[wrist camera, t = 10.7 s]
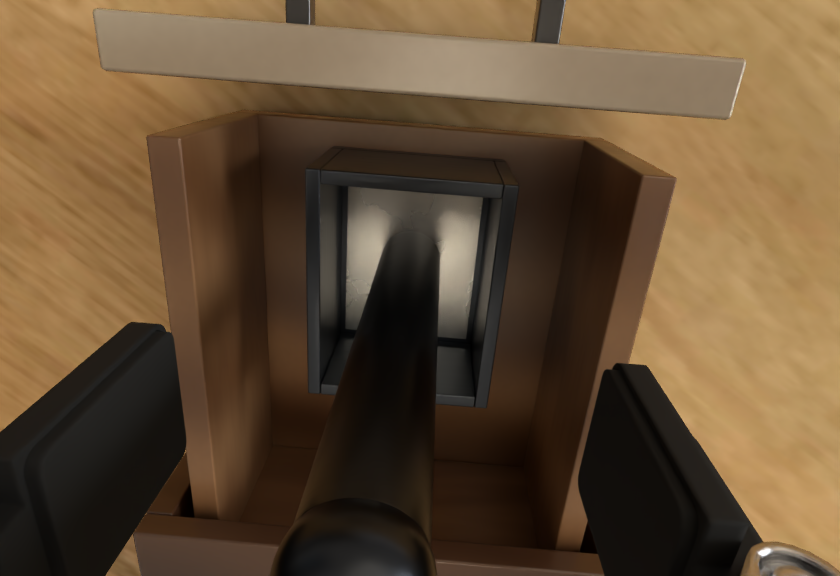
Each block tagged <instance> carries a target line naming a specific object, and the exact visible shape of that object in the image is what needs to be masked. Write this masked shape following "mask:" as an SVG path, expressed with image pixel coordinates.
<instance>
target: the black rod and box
mask: <svg viewBox="0 0 840 576" xmlns="http://www.w3.org/2000/svg"><path fill="white" fill-rule="evenodd" d="M518 193H519V185H518V183H517V181H516V179H515V178H514V176H513V174H512V172H511V170H510V169H509V167H508V165H507V163H506V161H505V160H501V159H488V158H476V157H464V156H451V155H439V154H426V153H414V152H401V151H389V150H376V149H364V148H352V147H339V146H333V147H332V148H330V149H329V150H328V151H327V152H325V153H324V154H323V155H322V156H320V157H319V158H318V159H317V160H315V161H314V162H313V163H312V164H310V165H309V166H308V167H307V168H305V212H306V288H307V363H308V393H312V394H320V393H321V394H323V395H335V398H334V401H333V404H332V407H331V410H330V413H329V416H328V419H327V422H326V425H325V429H324V432H323V435H322V438H321V441H320V444H319V447H318V450H317V453H316V456H315V459H314V462H313V465H312V468H311V471H310V474H309V477H308V481H307V484H306V487H305V490H304V493H303V496H302V499H301V502H300V505H299V508H298V511H297V514H296V517H295V520H294V523H293V526H292V527H291V528H290V529H289V531H288V532H287V534H286V535H285V537H284V538H283V540H282V542H281V543H280V546H279V548H278V550H277V553H276V555H275V557H274V560H273V564H272V567H271V571H270V576H437V568H436V563H435V558H434V554H433V551H432V548H431V537H432V505H433V473H434V441H435V409H436V404H439V405H451V406H462V407H474V406H475V408H485V409H486V408H487V405H488V398H489V391H490V385H491V378H492V371H493V364H494V357H495V350H496V343H497V337H498V330H499V323H500V316H501V309H502V302H503V295H504V289H505V282H506V275H507V268H508V261H509V254H510V248H511V241H512V234H513V227H514V220H515V213H516V206H517V200H518Z"/></svg>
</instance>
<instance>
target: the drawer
mask: <svg viewBox="0 0 840 576" xmlns="http://www.w3.org/2000/svg"><path fill="white" fill-rule="evenodd" d="M565 3H566V0H537V5H536V12H535V19H534V26H533V34H532V41H531V42H526V41H513V40H501V39H488V38H475V37H462V36H449V35H436V34H423V33H410V32H397V31H384V30H372V29H359V28H346V27H333V26H320V25H315V0H286V23H281V22H268V21H255V20H242V19H230V18H217V17H204V16H191V15H178V14H165V13H152V12H139V11H126V10H113V9H101V8H97V9H94V10H93V18H94V24H95V31H96V37H97V44H98V51H99V57H100V64H101V67H102V69H104V70H106V71H113V72H126V73H138V74H151V75H164V76H176V77H189V78H202V79H214V80H227V81H240V82H252V83H265V84H278V85H290V86H303V87H316V88H328V89H341V90H354V91H366V92H379V93H392V94H404V95H417V96H430V97H442V98H455V99H467V100H480V101H493V102H505V103H518V104H531V105H543V106H556V107H569V108H581V109H594V110H607V111H619V112H632V113H645V114H657V115H670V116H683V117H695V118H708V119H721V120H726V119H729V118H730V117H731V115H732V111H733V108H734V104H735V101H736V97H737V94H738V90H739V87H740V83H741V80H742V76H743V73H744V69H745V66H746V60H745V59H743V58H733V57H720V56H707V55H694V54H681V53H668V52H655V51H642V50H630V49H617V48H604V47H591V46H578V45H565V44H559V41H560V35H561V29H562V22H563V16H564V10H565ZM146 138H147V146H148V154H149V162H150V170H151V177H152V185H153V193H154V201H155V209H156V217H157V225H158V233H159V241H160V248H161V256H162V264H163V272H164V280H165V288H166V296H167V304H168V312H169V320H170V327H171V333H172V335H173V337H174V343H175V351H176V359H177V367H178V375H179V383H180V391H181V399H182V407H183V415H184V422H185V430H186V440H187V442H186V454H187V462H188V470H189V478H190V485H191V493H192V501H193V509H194V517H195V518H203V519H214V520H225V521H236V522H247V523H259V524H270V525H281V526H293V523H294V520H295V517H296V514H297V511H298V508H299V505H300V502H301V499H302V496H303V493H304V490H305V487H306V484H307V481H308V477H309V474H310V471H311V468H312V465H313V462H314V459H315V456H316V453H317V450H318V447H319V444H320V441H321V438H322V435H323V432H324V429H325V425H326V422H327V419H328V416H329V413H330V410H331V407H332V404H333V401H334V398H335V395H323V394H321V393H320V394H312V393H308V363H307V288H306V212H305V168H307V167H308V166H309V165H310V164H312V163H313V162H314V161H315V160H317V159H318V158H319V157H320V156H322V155H323V154H324V153H325V152H327V151H328V150H329V149H330V148H332V147H333V146H339V147H352V148H364V149H376V150H389V151H401V152H414V153H426V154H439V155H451V156H464V157H476V158H488V159H501V160H505V161H506V163H507V165H508V167H509V169H510V170H511V172H512V174H513V176H514V178H515V179H516V181H517V183H518V185H519V193H518V200H517V206H516V213H515V220H514V227H513V234H512V241H511V248H510V254H509V261H508V268H507V275H506V282H505V289H504V295H503V302H502V309H501V316H500V323H499V330H498V337H497V343H496V350H495V357H494V364H493V371H492V378H491V385H490V391H489V398H488V405H487V408H486V409H485V408H475V406H474V407H462V406H451V405H439V404H436V409H435V441H434V473H433V505H432V537H431V539H437V540H448V541H459V542H470V543H481V544H493V545H504V546H515V547H526V548H537V549H548V550H559V551H571V552H579V551H580V547H581V544H582V540H583V536H584V532H585V528H586V525H587V521H588V520H587V517H586V513H585V510H584V507H583V503H582V500H581V497H580V494H579V489H578V474H579V469H580V465H581V461H582V457H583V453H584V449H585V444H586V440H587V436H588V432H589V428H590V424H591V420H592V415H593V411H594V407H595V403H596V399H597V395H598V391H599V386H600V382H601V378H602V375H603V372H604V370H606V369H611V370H612V368H613V366H614V364H616V363H625V364H629V360H630V356H631V353H632V349H633V345H634V341H635V337H636V333H637V330H638V326H639V322H640V318H641V314H642V310H643V307H644V303H645V299H646V295H647V291H648V288H649V284H650V280H651V276H652V272H653V268H654V265H655V261H656V257H657V253H658V249H659V246H660V242H661V238H662V234H663V230H664V226H665V223H666V219H667V215H668V211H669V207H670V203H671V200H672V196H673V192H674V188H675V184H676V181H677V178H676V177H674V176H672V175H670V174H668V173H666V172H664V171H662V170H661V169H659V168H657V167H655V166H653V165H651V164H649V163H647V162H646V161H644V160H642V159H640V158H638V157H636V156H634V155H632V154H631V153H629V152H627V151H625V150H623V149H621V148H619V147H617V146H616V145H614V144H612V143H610V142H608V141H606V140H604V139H602V138H592V137H580V136H567V135H555V134H542V133H530V132H517V131H505V130H492V129H480V128H467V127H454V126H442V125H429V124H417V123H404V122H392V121H379V120H367V119H354V118H342V117H329V116H316V115H304V114H291V113H279V112H266V111H254V110H240V111H237V112H232V113H229V114H225V115H221V116H217V117H214V118H210V119H206V120H202V121H199V122H195V123H191V124H187V125H184V126H180V127H176V128H172V129H169V130H165V131H161V132H157V133H154V134H150V135H147V137H146Z"/></svg>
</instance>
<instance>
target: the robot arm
mask: <svg viewBox="0 0 840 576" xmlns="http://www.w3.org/2000/svg"><path fill="white" fill-rule="evenodd" d="M186 442H187V440H186V430H185V422H184V415H183V407H182V399H181V391H180V383H179V375H178V367H177V359H176V351H175V343H174V337H173V335H172V333H170V332H166V330H165V328H164V326H162V325H161V324H150V323H138V322H131V323H129V324H127V325H126V326H125V327H124V328H123V329H121V330H120V331H119V332H118V333H117V334H116V335H114V336H113V337H112V338H111V339H110V340H108V341H107V342H106V343H105V344H104V345H103V346H101V347H100V348H99V349H98V350H97V351H95V352H94V353H93V354H92V355H91V356H90V357H88V358H87V359H86V360H85V361H84V362H83V363H81V364H80V365H79V366H78V367H77V368H75V369H74V370H73V371H72V372H71V373H70V374H68V375H67V376H66V377H65V378H64V379H62V380H61V381H60V382H59V383H58V384H57V385H55V386H54V387H53V388H52V389H51V390H49V391H48V392H47V393H46V394H45V395H44V396H42V397H41V398H40V399H39V400H38V401H37V402H35V403H34V404H33V405H32V406H31V407H29V408H28V409H27V410H26V411H25V412H24V413H22V414H21V415H20V416H19V417H18V418H16V419H15V420H14V421H13V422H12V423H11V424H9V425H8V426H7V427H6V428H5V429H3V430H2V431H1V432H0V576H105V575H106V574H107V572H108V570H109V569H110V567H111V566H112V564H113V563H114V561H115V560H116V558H117V557H118V555H119V554H120V552H121V551H122V549H123V548H124V546H125V544H126V543H127V541H128V540H129V538H130V537H131V535H132V534H133V532H134V531H135V529H136V528H137V526H138V525H139V523H140V522H141V520H142V518H143V517H144V515H145V514H146V512H147V511H148V509H149V508H150V506H151V505H152V503H153V502H154V500H155V499H156V497H157V496H158V494H159V492H160V491H161V489H162V488H163V486H164V485H165V483H166V482H167V480H168V479H169V477H170V476H171V474H172V473H173V471H174V470H175V468H176V466H177V465H178V463H179V462H180V460H181V459H182V457H183V455H184V452H185V449H186ZM578 489H579V494H580V497H581V500H582V503H583V507H584V510H585V513H586V517H587V520H588V523H589V526H590V530H591V533H592V536H593V540H594V543H595V546H596V549H597V553H598V556H599V559H600V562H601V566H602V569H603V572H604V576H840V572H839V571H838V570H837V569H836V568H834V567H833V566H832V565H830V564H829V563H828V562H826V561H825V560H823V559H821V558H819V557H818V556H816V555H814V554H812V553H811V552H809V551H806V550H804V549H801V548H798V547H796V546H793V545H790V544H785V543H780V542H763V541H762V539H761V538H760V536H759V535H758V533H757V532H756V530H755V529H754V527H753V525H752V524H751V522H750V521H749V519H748V518H747V516H746V515H745V513H744V512H743V510H742V509H741V507H740V506H739V504H738V502H737V501H736V499H735V498H734V496H733V495H732V493H731V492H730V490H729V489H728V487H727V486H726V484H725V483H724V481H723V479H722V478H721V476H720V475H719V473H718V472H717V470H716V469H715V467H714V466H713V464H712V463H711V461H710V460H709V458H708V456H707V455H706V453H705V452H704V450H703V449H702V447H701V446H700V444H699V443H698V441H697V440H696V439H695V438H694V437H693V436H692V434H691V433H690V431H689V430H688V428H687V427H686V425H685V423H684V422H683V420H682V419H681V417H680V416H679V414H678V413H677V411H676V410H675V408H674V407H673V405H672V403H671V402H670V400H669V399H668V397H667V396H666V394H665V393H664V391H663V390H662V388H661V386H660V385H659V383H658V382H657V380H656V379H655V377H654V376H653V374H652V373H651V371H650V369H649V368H648V367H647V366H646V365H637V364H625V363H616V364H614V366H613V368H612V370H611V369H606V370H604V372H603V375H602V378H601V382H600V386H599V391H598V395H597V399H596V403H595V407H594V411H593V415H592V420H591V424H590V428H589V432H588V436H587V440H586V444H585V449H584V453H583V457H582V461H581V465H580V469H579V474H578Z"/></svg>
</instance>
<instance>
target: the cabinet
mask: <svg viewBox="0 0 840 576" xmlns="http://www.w3.org/2000/svg"><path fill="white" fill-rule="evenodd" d="M291 527H292V526H281V525H270V524H259V523H247V522H236V521H225V520H214V519H203V518H195V517H194V509H193V501H192V493H191V485H190V478H189V470H188V462H187V454H186V453H185V455H184V456H183V458H182V459H181V461H180V462H179V464H178V465H177V467H176V468H175V470H174V471H173V473H172V474H171V476H170V477H169V479H168V480H167V482H166V483H165V485H164V487H163V488H162V490H161V491H160V493H159V494H158V496H157V497H156V499H155V500H154V502H153V503H152V505H151V506H150V508H149V509H148V511H147V514H146V515H145V516H144V518H143V519H142V521H141V522H140V524H139V525H138V527H137V528H136V530H135V531H134V534H133V536H134V541H135V546H136V551H137V557H138V562H139V567H140V572H141V576H270V571H271V567H272V564H273V560H274V557H275V555H276V553H277V550H278V548H279V546H280V543H281V542H282V540H283V538H284V537H285V535H286V534H287V532H288V531H289V529H290V528H291ZM431 548H432V551H433V554H434V558H435V563H436V568H437V576H604V572H603V569H602V566H601V562H600V559H599V556H598V553H597V549H596V546H595V543H594V540H593V536H592V533H591V530H590V526H589V523H588V521H587V525H586V528H585V532H584V536H583V540H582V544H581V547H580V551H579V552H571V551H559V550H548V549H537V548H526V547H515V546H504V545H493V544H481V543H470V542H459V541H448V540H437V539H431Z"/></svg>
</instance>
